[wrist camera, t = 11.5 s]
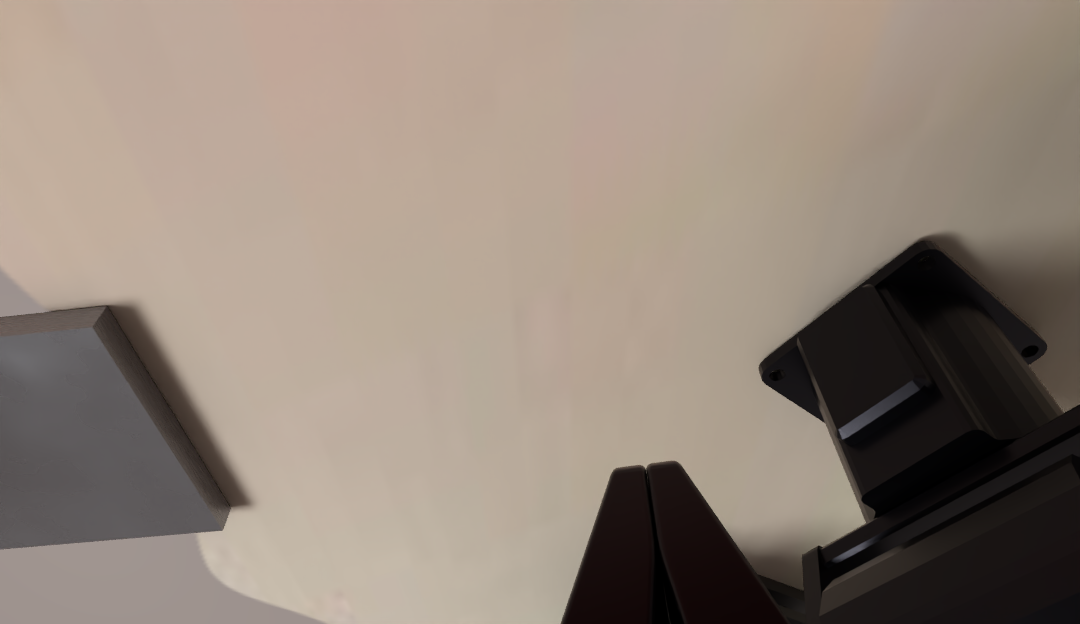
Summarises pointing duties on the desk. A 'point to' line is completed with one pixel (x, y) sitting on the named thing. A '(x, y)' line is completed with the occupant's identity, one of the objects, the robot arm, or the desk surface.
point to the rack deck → (91, 439)
